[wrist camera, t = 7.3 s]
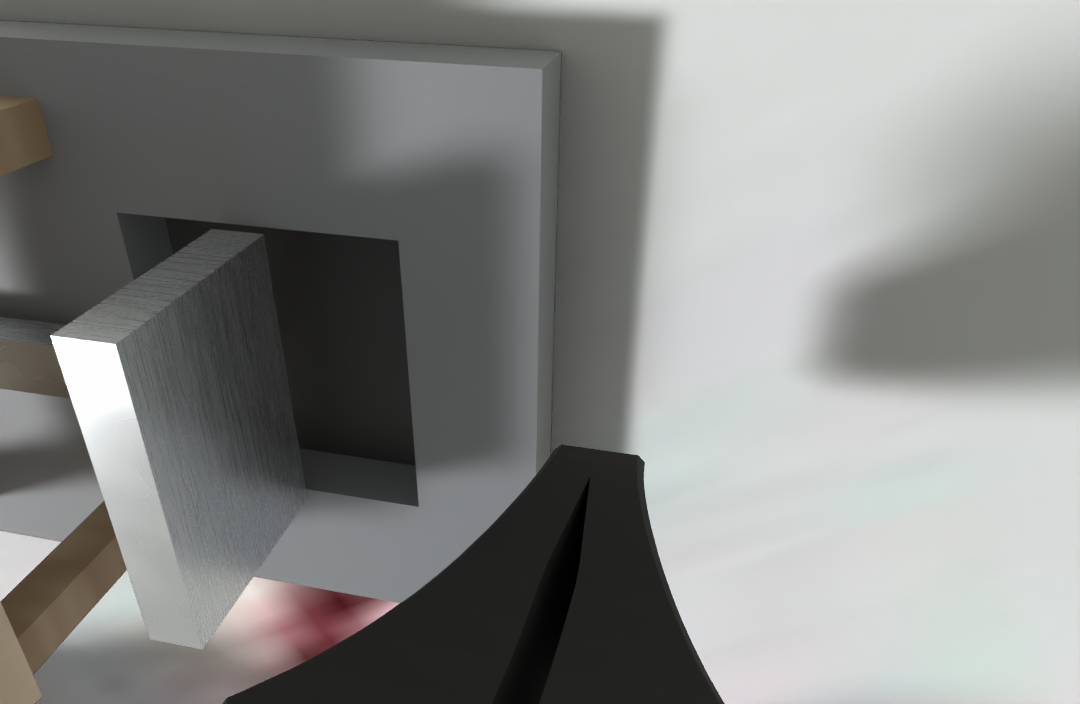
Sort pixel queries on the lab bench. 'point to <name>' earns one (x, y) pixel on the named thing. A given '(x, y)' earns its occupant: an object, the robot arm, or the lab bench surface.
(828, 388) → the lab bench surface
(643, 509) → the robot arm
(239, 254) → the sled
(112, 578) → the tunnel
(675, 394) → the lab bench surface
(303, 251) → the deck
